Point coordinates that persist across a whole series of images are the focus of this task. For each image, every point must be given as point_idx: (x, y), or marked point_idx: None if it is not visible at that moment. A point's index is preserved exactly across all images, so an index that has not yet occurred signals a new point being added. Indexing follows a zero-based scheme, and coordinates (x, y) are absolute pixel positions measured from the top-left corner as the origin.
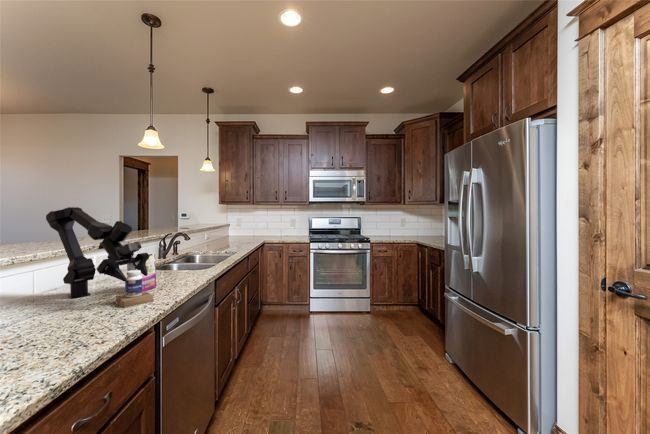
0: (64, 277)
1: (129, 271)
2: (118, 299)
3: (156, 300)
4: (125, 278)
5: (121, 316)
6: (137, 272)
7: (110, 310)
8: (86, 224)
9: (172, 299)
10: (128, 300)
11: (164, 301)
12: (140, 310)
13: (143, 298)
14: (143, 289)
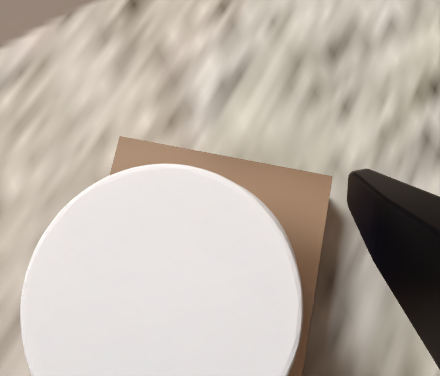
0: None
1: (231, 357)
2: (307, 318)
3: (112, 146)
4: (373, 177)
5: (403, 35)
6: (159, 164)
7: None
8: None
9: (49, 68)
10: (299, 170)
11: (103, 75)
12: (288, 40)
13: (192, 154)
14: None
